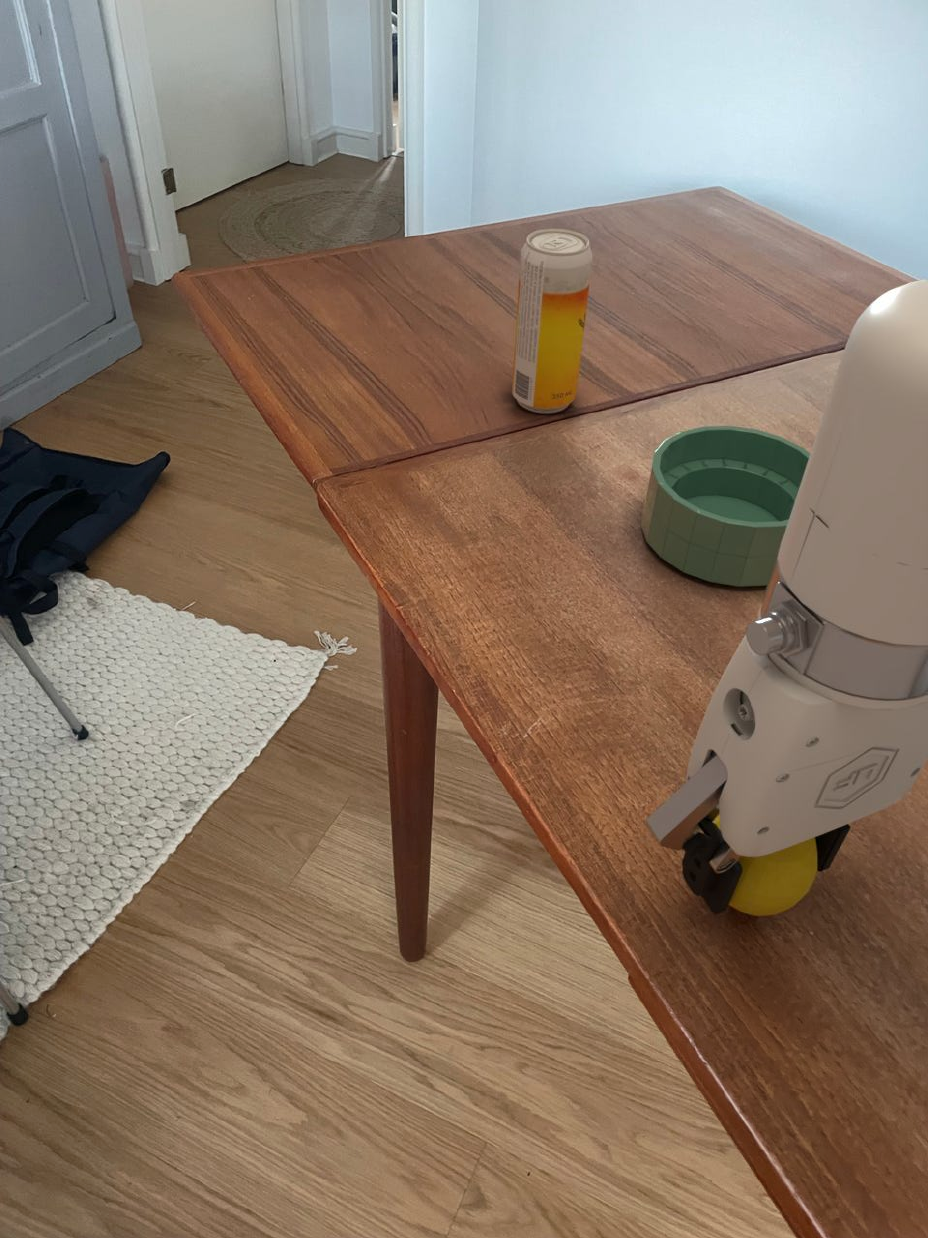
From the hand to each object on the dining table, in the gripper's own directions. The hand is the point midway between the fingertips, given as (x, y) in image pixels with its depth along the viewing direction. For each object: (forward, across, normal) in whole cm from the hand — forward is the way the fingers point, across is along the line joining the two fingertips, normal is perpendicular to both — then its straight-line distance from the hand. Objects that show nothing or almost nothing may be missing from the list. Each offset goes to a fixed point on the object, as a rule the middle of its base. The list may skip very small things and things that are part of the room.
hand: (754, 866), depth 48 cm
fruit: (+3, 0, 0) cm, 3 cm away
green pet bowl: (+3, +18, +27) cm, 32 cm away
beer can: (+3, +14, +51) cm, 53 cm away
